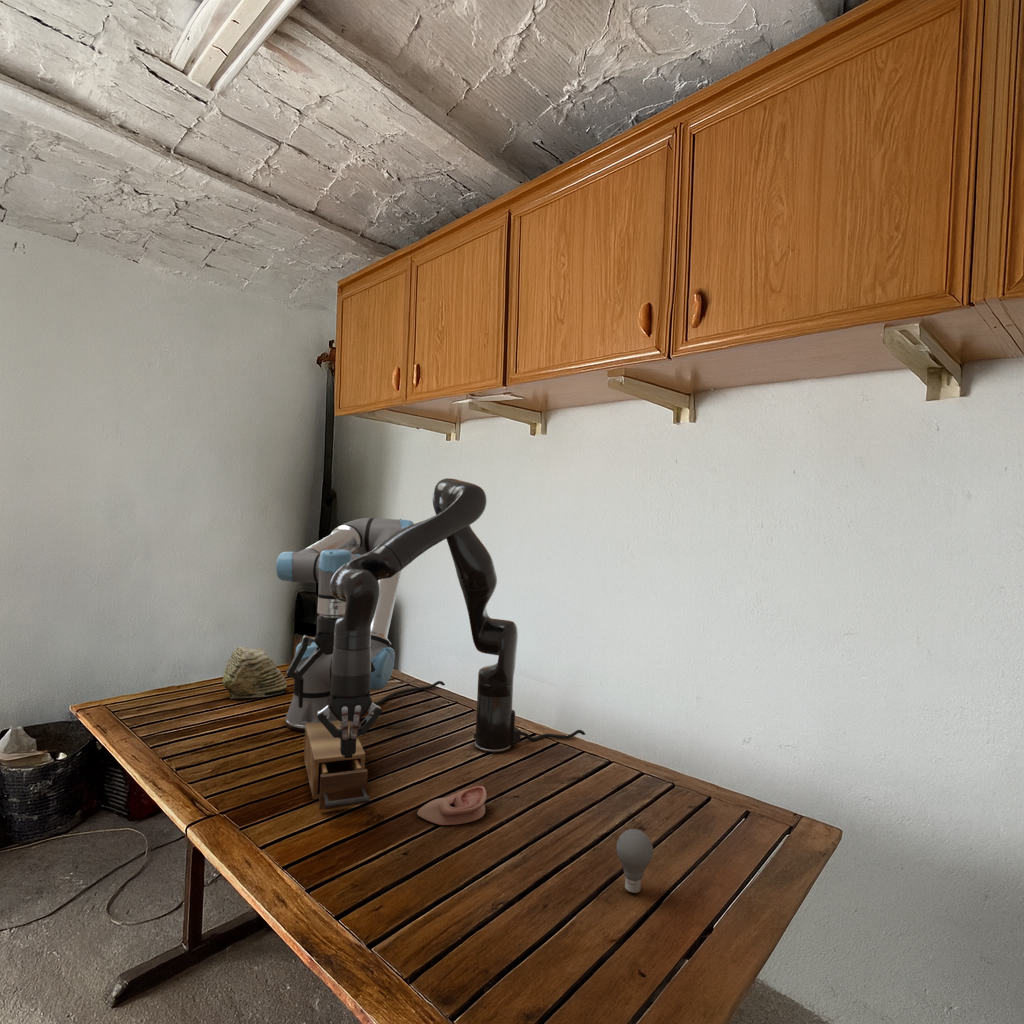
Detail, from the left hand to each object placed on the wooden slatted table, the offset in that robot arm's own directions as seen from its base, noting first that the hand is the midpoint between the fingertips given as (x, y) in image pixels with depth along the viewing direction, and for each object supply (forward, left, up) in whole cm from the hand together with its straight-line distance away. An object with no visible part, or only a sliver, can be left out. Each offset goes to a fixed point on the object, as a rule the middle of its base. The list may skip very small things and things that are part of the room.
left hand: (330, 703), depth 151 cm
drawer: (+8, +15, -13) cm, 22 cm away
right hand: (+14, +25, -2) cm, 29 cm away
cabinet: (+4, +7, -14) cm, 16 cm away
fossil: (-14, -58, -14) cm, 61 cm away
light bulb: (-4, +79, -14) cm, 80 cm away
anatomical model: (-3, +39, -14) cm, 41 cm away
